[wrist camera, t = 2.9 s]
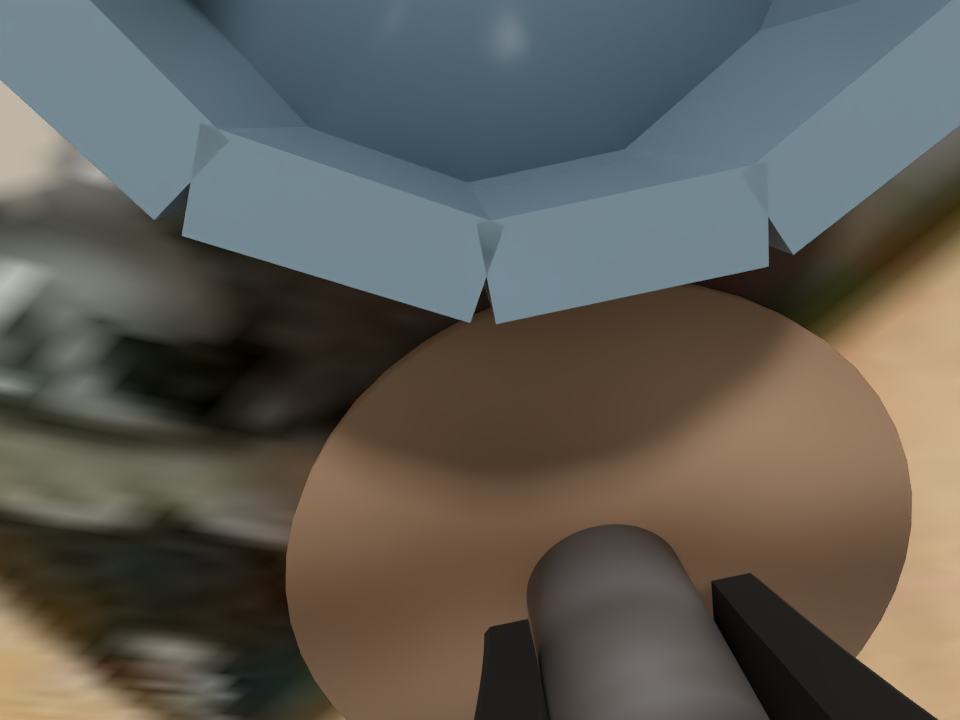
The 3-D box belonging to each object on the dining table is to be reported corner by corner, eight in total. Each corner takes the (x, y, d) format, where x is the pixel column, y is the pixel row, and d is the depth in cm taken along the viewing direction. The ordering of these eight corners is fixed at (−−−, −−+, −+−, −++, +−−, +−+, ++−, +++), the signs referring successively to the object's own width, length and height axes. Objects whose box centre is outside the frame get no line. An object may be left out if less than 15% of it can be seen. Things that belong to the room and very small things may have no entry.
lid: (865, 702, 13) (1033, 925, 10) (383, 801, 13) (363, 1062, 10) (900, 206, 9) (1217, 261, 5) (202, 354, 9) (47, 507, 6)
